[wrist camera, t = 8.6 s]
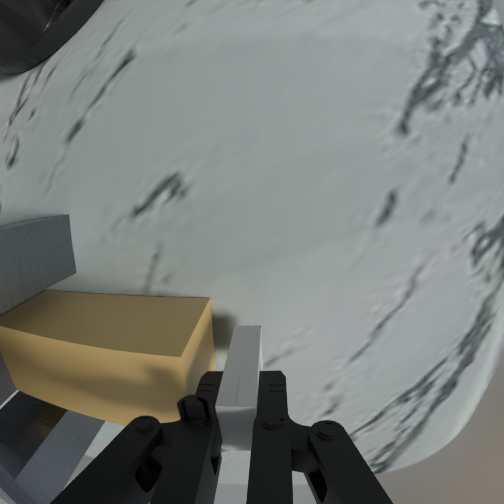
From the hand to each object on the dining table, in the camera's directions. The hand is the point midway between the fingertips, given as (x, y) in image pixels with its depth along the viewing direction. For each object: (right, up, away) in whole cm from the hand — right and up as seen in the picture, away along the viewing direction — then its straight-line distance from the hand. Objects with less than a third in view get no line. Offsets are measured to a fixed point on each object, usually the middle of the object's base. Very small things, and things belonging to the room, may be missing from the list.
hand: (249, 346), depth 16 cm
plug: (-11, 0, +2) cm, 12 cm away
